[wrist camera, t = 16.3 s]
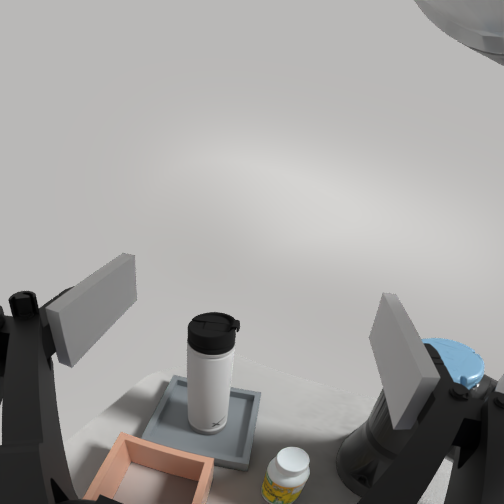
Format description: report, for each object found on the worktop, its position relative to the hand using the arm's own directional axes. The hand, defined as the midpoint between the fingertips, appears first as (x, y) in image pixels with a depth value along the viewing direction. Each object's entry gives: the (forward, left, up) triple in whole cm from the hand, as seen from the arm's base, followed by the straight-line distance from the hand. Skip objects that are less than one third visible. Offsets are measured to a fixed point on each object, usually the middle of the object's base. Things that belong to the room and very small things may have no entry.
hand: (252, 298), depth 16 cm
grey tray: (+6, -19, -35) cm, 40 cm away
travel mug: (+6, -19, -34) cm, 39 cm away
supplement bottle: (-7, -8, -35) cm, 36 cm away
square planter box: (+9, -2, -35) cm, 36 cm away
